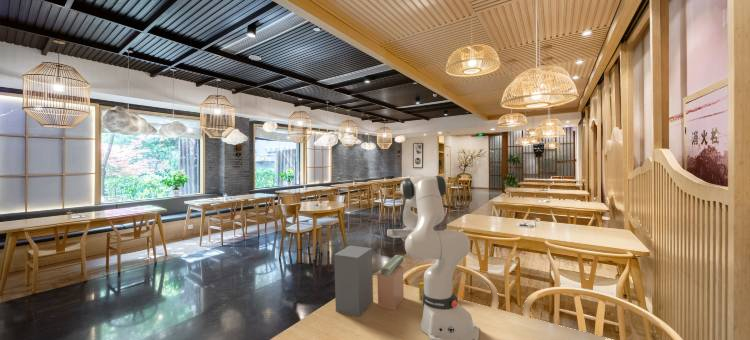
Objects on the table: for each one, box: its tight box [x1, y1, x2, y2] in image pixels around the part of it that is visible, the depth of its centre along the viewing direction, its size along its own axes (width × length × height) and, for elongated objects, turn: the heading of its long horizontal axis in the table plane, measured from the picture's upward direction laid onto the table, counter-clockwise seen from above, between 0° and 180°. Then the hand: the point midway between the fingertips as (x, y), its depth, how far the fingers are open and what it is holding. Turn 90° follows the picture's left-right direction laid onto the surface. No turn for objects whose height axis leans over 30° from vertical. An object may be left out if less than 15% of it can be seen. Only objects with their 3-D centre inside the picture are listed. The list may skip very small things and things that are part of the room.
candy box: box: [418, 281, 454, 301], centre depth 135 cm, size 16×2×8 cm, turn 88°
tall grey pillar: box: [333, 245, 374, 318], centre depth 130 cm, size 12×14×26 cm
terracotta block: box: [376, 265, 405, 311], centre depth 133 cm, size 8×12×16 cm, turn 155°
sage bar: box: [380, 254, 404, 276], centre depth 136 cm, size 4×19×3 cm, turn 155°
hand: (401, 231), depth 148 cm, fingers open, 8 cm apart
